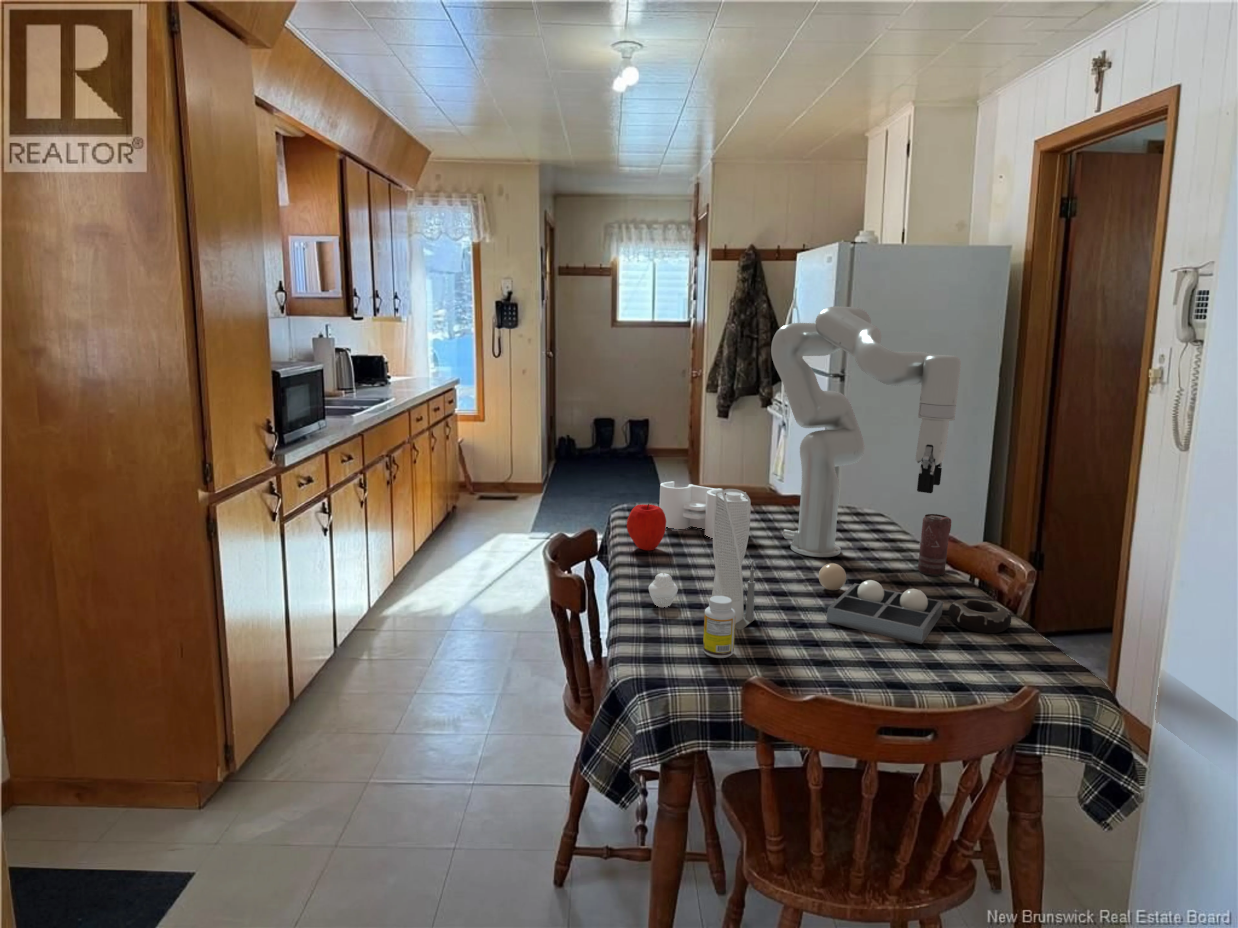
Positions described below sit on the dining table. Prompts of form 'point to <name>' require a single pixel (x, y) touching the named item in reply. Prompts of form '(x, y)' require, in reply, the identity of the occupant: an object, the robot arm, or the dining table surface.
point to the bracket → (688, 506)
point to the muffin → (663, 590)
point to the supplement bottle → (719, 627)
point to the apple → (646, 526)
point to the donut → (979, 615)
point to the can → (934, 544)
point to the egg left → (871, 591)
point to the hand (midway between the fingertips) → (928, 488)
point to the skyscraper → (732, 552)
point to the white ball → (914, 600)
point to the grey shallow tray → (884, 615)
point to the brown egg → (832, 576)
